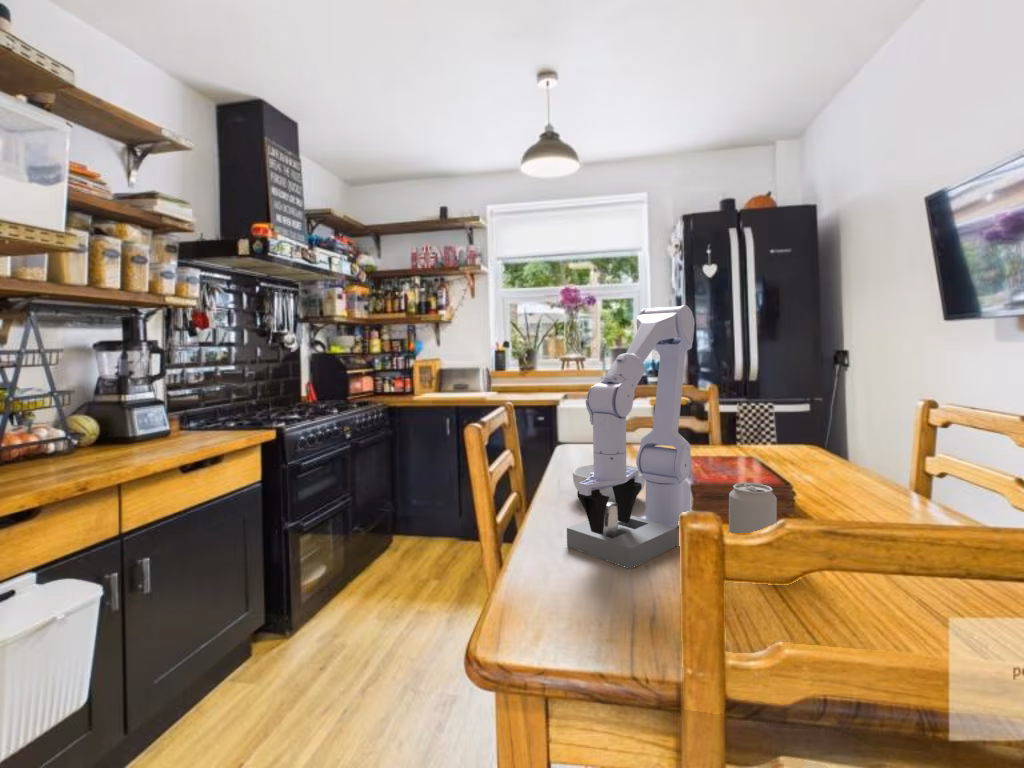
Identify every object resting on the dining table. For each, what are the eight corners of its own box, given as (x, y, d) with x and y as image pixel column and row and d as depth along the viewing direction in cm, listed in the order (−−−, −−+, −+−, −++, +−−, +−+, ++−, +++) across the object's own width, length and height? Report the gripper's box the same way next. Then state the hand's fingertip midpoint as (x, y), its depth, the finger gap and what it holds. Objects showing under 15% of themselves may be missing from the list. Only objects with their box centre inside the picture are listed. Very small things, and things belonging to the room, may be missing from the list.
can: (748, 565, 88) (749, 494, 87) (719, 549, 95) (719, 482, 94) (786, 559, 90) (787, 489, 89) (754, 544, 97) (755, 479, 96)
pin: (609, 543, 98) (608, 500, 97) (621, 548, 95) (621, 504, 94) (597, 547, 96) (597, 504, 95) (610, 552, 93) (609, 508, 93)
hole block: (614, 527, 107) (614, 510, 107) (676, 546, 97) (676, 527, 97) (567, 546, 98) (566, 527, 98) (630, 569, 88) (630, 548, 87)
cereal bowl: (640, 490, 134) (640, 462, 134) (650, 510, 118) (650, 479, 117) (572, 490, 136) (572, 462, 136) (573, 510, 120) (573, 479, 119)
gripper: (616, 442, 102) (617, 512, 103) (564, 454, 92) (566, 531, 93) (648, 447, 97) (648, 521, 98) (597, 460, 87) (598, 541, 88)
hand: (610, 526), depth 95 cm, fingers open, 7 cm apart
